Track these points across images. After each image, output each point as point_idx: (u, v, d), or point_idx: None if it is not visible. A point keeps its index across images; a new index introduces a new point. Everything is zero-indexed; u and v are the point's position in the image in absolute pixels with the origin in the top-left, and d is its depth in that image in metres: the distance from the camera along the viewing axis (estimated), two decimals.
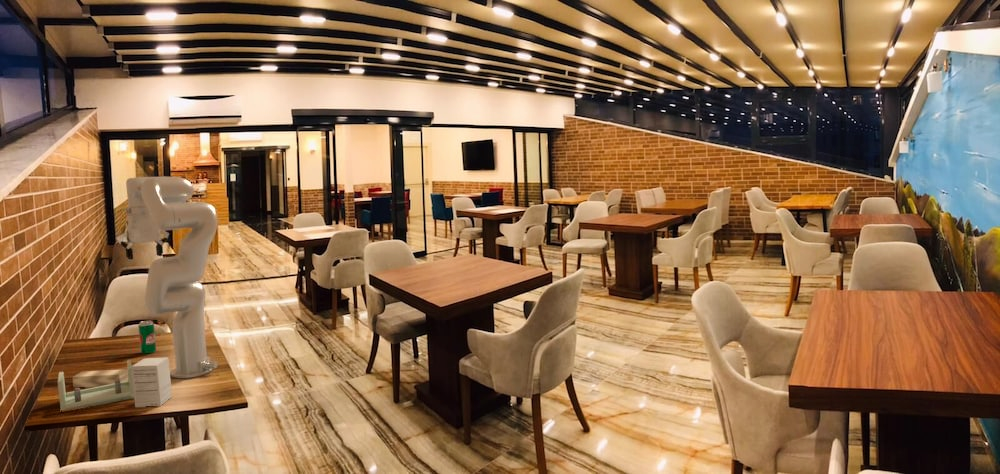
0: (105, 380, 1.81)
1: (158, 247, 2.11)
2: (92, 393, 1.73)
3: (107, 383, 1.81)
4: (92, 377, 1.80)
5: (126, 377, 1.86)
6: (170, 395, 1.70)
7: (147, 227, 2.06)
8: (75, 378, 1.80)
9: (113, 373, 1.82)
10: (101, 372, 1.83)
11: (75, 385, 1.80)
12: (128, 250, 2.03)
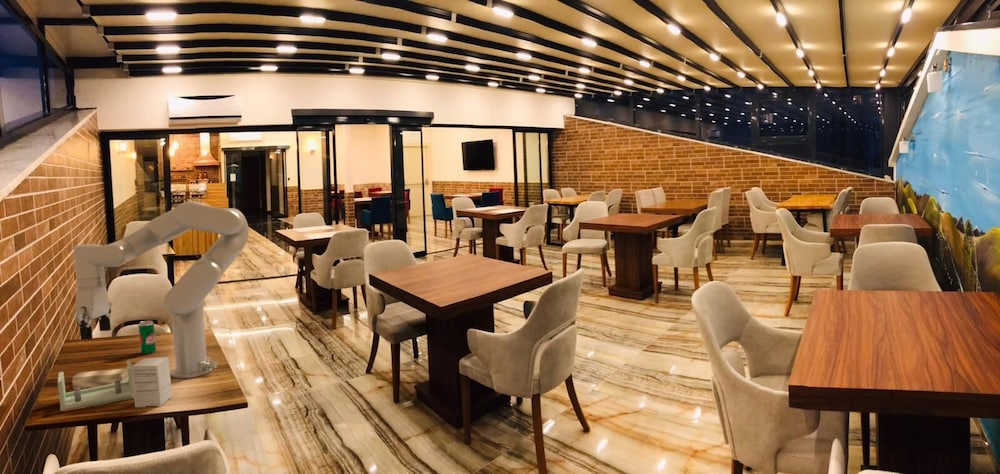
0: (106, 380, 1.81)
1: None
2: (92, 393, 1.73)
3: (109, 383, 1.82)
4: (92, 377, 1.80)
5: (127, 376, 1.86)
6: (170, 395, 1.70)
7: None
8: (75, 379, 1.79)
9: (114, 372, 1.83)
10: (101, 372, 1.83)
11: (75, 386, 1.79)
12: None
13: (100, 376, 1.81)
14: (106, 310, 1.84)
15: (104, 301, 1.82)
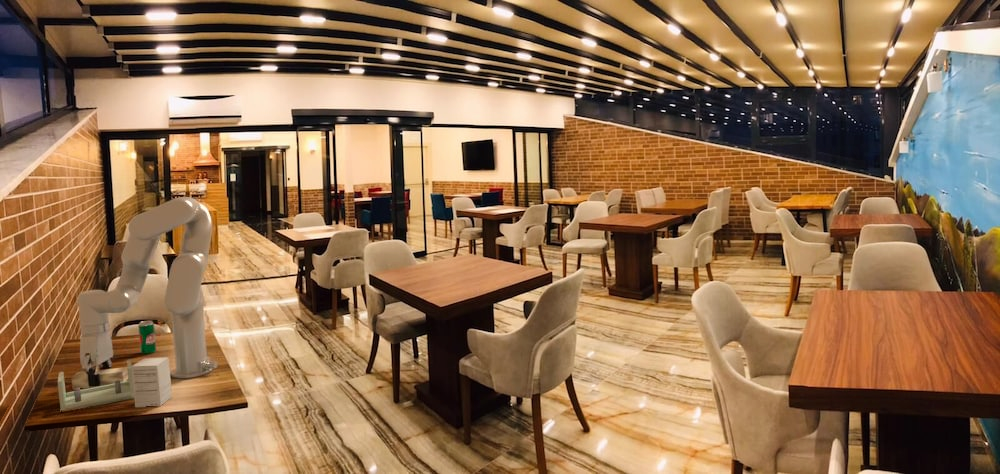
0: (107, 379, 1.82)
1: None
2: (92, 393, 1.73)
3: (109, 381, 1.82)
4: None
5: (126, 375, 1.87)
6: (170, 395, 1.70)
7: None
8: (74, 378, 1.79)
9: (114, 371, 1.83)
10: (100, 371, 1.83)
11: (74, 385, 1.79)
12: None
13: (100, 375, 1.81)
14: (109, 354, 1.85)
15: (108, 346, 1.84)
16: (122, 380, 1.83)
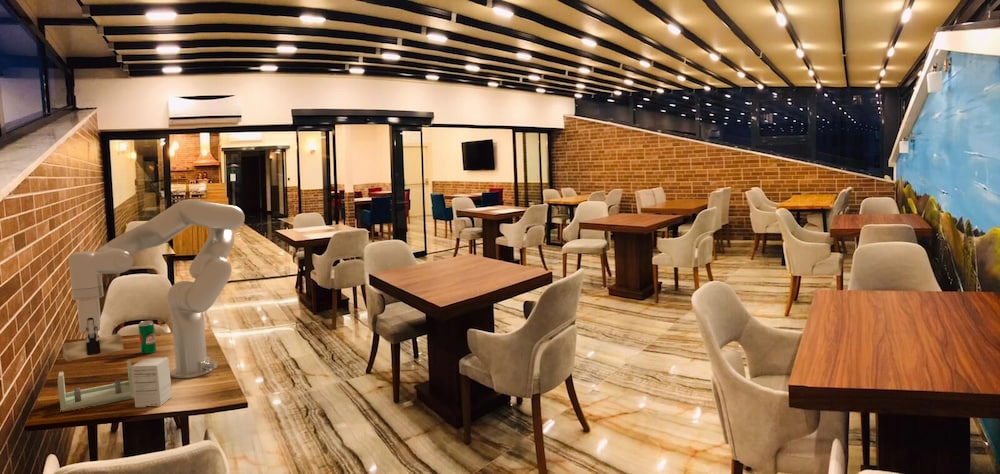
0: (105, 346, 1.69)
1: None
2: (92, 393, 1.73)
3: (108, 348, 1.70)
4: None
5: None
6: (170, 395, 1.70)
7: None
8: (69, 348, 1.63)
9: (111, 337, 1.71)
10: None
11: (69, 356, 1.63)
12: None
13: None
14: None
15: None
16: (122, 345, 1.72)
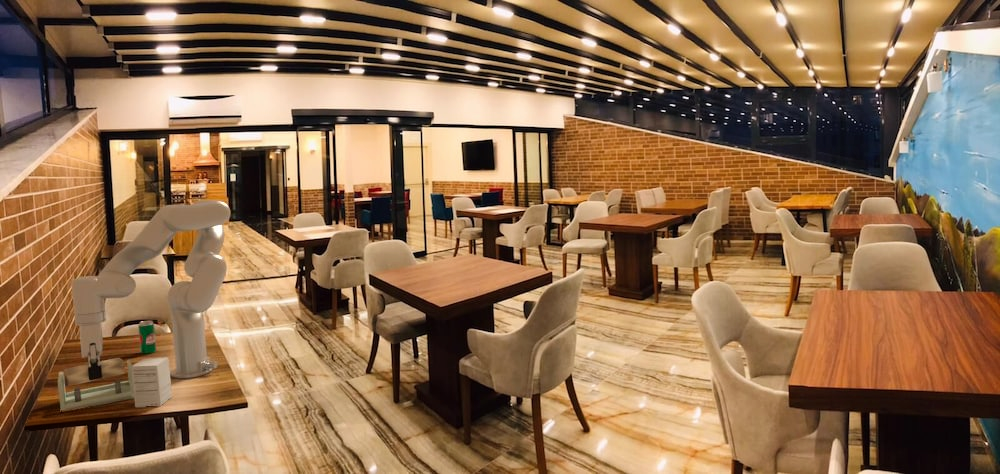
0: (107, 370, 1.70)
1: None
2: (92, 393, 1.73)
3: (110, 373, 1.70)
4: None
5: None
6: (170, 395, 1.70)
7: None
8: (71, 373, 1.63)
9: (112, 362, 1.72)
10: None
11: (71, 381, 1.63)
12: None
13: None
14: None
15: None
16: (123, 370, 1.73)
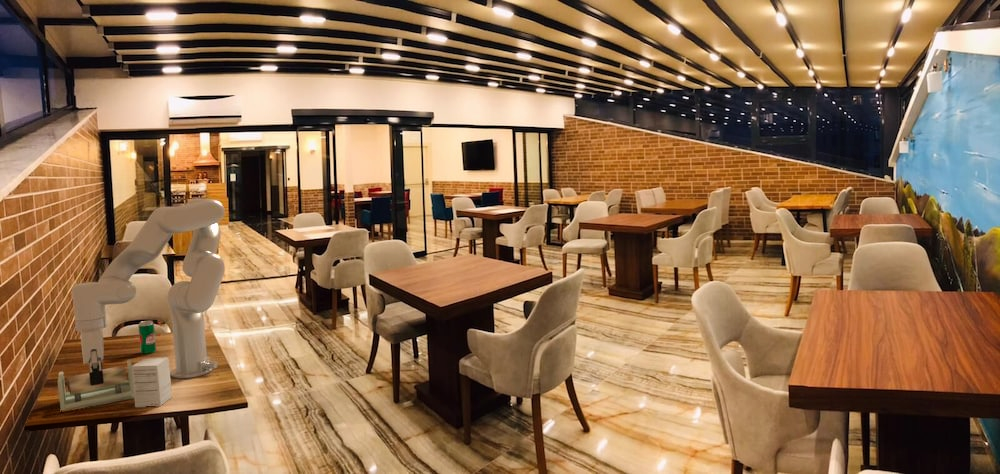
0: (109, 379, 1.70)
1: None
2: (92, 393, 1.73)
3: (112, 381, 1.71)
4: None
5: None
6: (170, 395, 1.70)
7: (81, 345, 1.67)
8: (73, 382, 1.64)
9: (115, 370, 1.72)
10: None
11: (73, 390, 1.64)
12: None
13: None
14: None
15: None
16: (125, 378, 1.73)
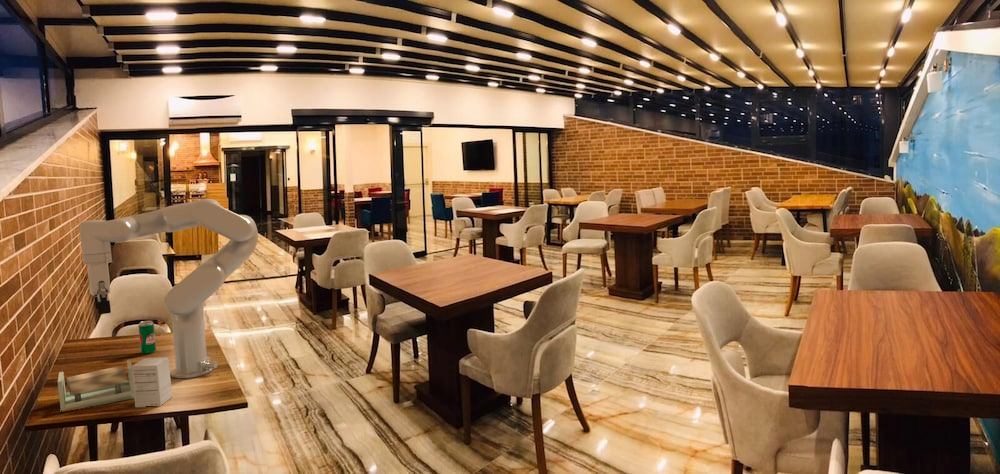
0: (109, 379, 1.70)
1: None
2: (92, 393, 1.73)
3: (112, 381, 1.71)
4: (94, 378, 1.68)
5: None
6: (170, 395, 1.70)
7: (88, 278, 1.78)
8: (73, 382, 1.64)
9: (115, 370, 1.72)
10: (96, 372, 1.70)
11: (73, 390, 1.64)
12: None
13: (102, 375, 1.69)
14: None
15: None
16: (125, 378, 1.73)
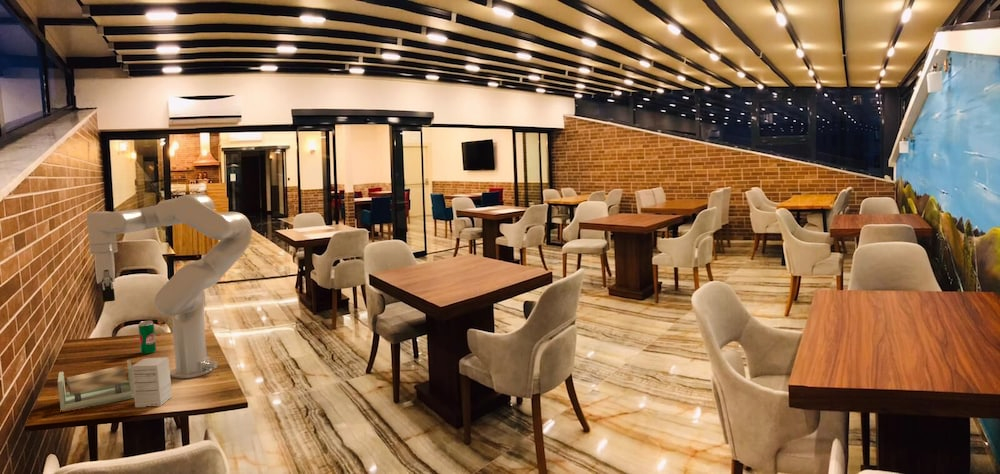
0: (109, 379, 1.70)
1: None
2: (92, 393, 1.73)
3: (112, 381, 1.71)
4: (94, 378, 1.68)
5: None
6: (170, 395, 1.70)
7: None
8: (73, 382, 1.64)
9: (115, 370, 1.72)
10: (96, 372, 1.70)
11: (73, 390, 1.64)
12: None
13: (102, 375, 1.69)
14: None
15: None
16: (125, 378, 1.73)
